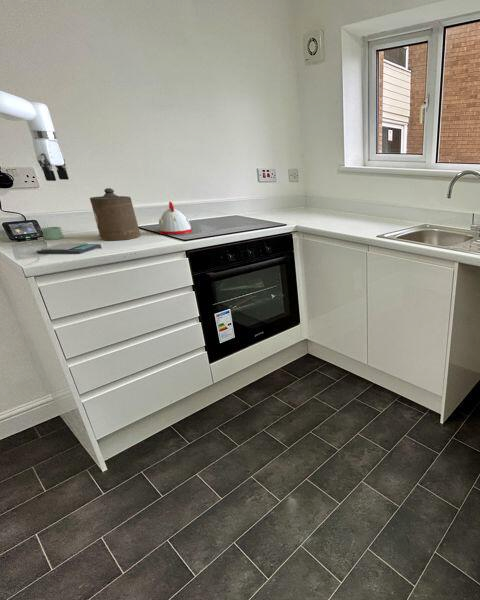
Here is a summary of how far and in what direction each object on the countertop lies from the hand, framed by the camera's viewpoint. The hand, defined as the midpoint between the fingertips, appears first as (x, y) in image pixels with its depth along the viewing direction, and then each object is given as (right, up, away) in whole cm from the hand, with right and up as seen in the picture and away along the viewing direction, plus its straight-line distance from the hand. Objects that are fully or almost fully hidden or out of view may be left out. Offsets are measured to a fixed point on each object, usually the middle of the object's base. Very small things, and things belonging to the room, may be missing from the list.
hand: (58, 180), depth 150 cm
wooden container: (+17, -23, +13) cm, 31 cm away
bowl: (-9, -24, +7) cm, 26 cm away
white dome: (+33, -17, +29) cm, 47 cm away
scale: (+20, -34, -15) cm, 42 cm away
